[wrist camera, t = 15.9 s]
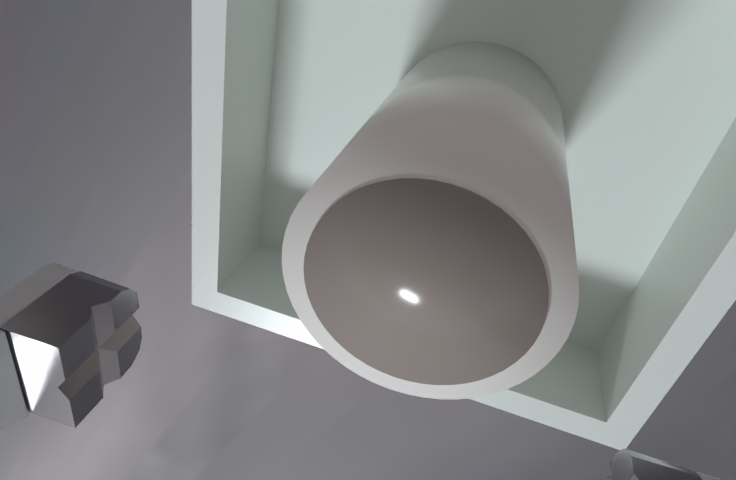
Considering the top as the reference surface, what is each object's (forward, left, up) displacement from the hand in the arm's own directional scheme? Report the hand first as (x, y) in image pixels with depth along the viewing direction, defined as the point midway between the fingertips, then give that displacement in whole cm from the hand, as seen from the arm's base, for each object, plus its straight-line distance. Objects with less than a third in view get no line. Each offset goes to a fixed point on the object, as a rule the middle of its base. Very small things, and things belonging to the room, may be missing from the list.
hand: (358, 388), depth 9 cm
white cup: (-1, -1, -11) cm, 11 cm away
